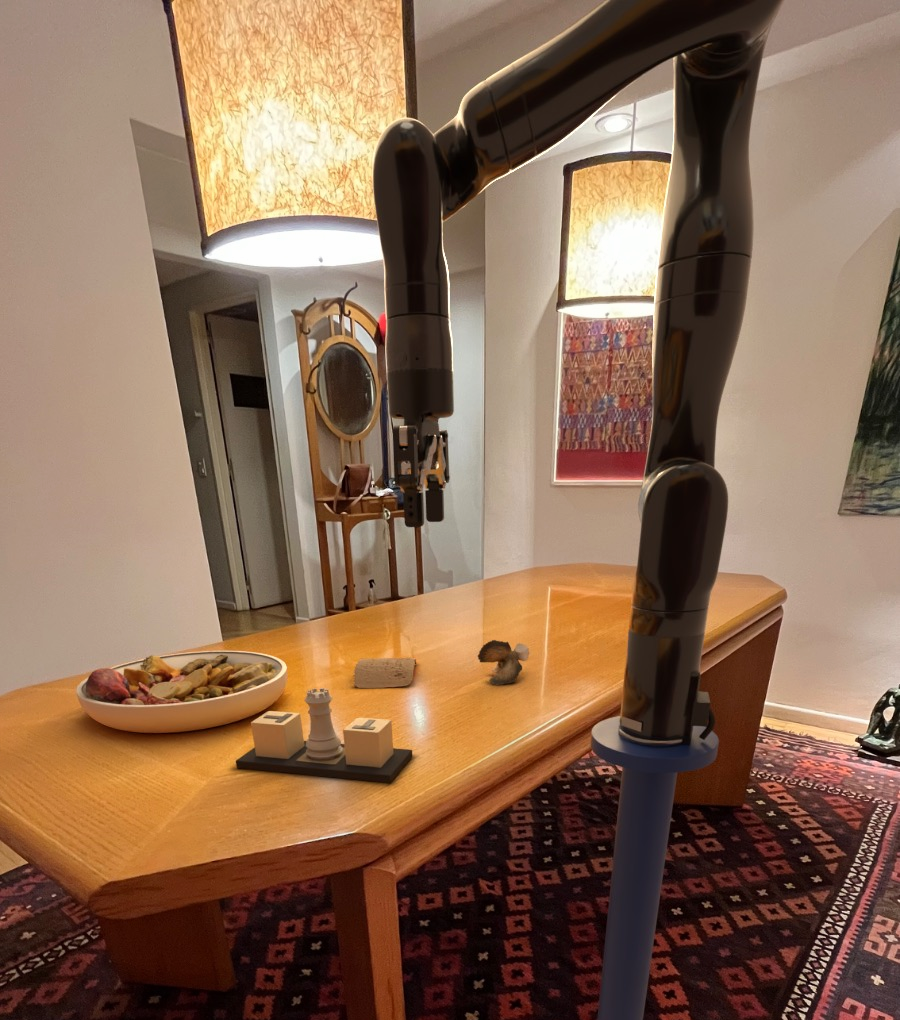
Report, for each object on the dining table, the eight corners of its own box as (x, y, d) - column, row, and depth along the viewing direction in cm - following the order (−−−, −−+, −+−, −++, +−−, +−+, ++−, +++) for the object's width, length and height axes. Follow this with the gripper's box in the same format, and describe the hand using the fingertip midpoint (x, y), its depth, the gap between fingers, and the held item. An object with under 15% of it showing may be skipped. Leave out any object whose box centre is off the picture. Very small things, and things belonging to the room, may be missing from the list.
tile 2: (393, 753, 82) (391, 718, 80) (380, 767, 79) (378, 731, 77) (360, 750, 84) (357, 716, 82) (346, 764, 80) (342, 728, 78)
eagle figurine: (482, 661, 119) (466, 665, 111) (505, 628, 117) (491, 629, 108) (515, 688, 119) (502, 693, 110) (540, 655, 116) (528, 658, 108)
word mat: (412, 756, 84) (412, 748, 84) (390, 783, 77) (390, 774, 77) (269, 744, 89) (268, 736, 88) (236, 768, 82) (235, 759, 82)
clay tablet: (363, 665, 124) (362, 650, 123) (418, 664, 124) (417, 649, 122) (352, 688, 111) (350, 672, 110) (413, 687, 111) (412, 671, 109)
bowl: (232, 669, 123) (225, 625, 120) (328, 703, 104) (322, 652, 100) (56, 708, 105) (42, 658, 101) (133, 759, 85) (117, 700, 82)
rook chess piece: (321, 745, 85) (314, 683, 82) (350, 750, 83) (344, 688, 80) (298, 757, 82) (290, 694, 78) (328, 763, 80) (321, 698, 76)
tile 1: (304, 746, 85) (300, 712, 83) (288, 759, 82) (283, 724, 80) (273, 743, 87) (268, 709, 85) (256, 756, 83) (250, 721, 81)
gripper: (433, 358, 69) (438, 529, 76) (467, 374, 81) (468, 519, 88) (365, 363, 71) (376, 529, 78) (408, 377, 83) (414, 520, 90)
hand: (425, 524), depth 83 cm, fingers open, 8 cm apart
